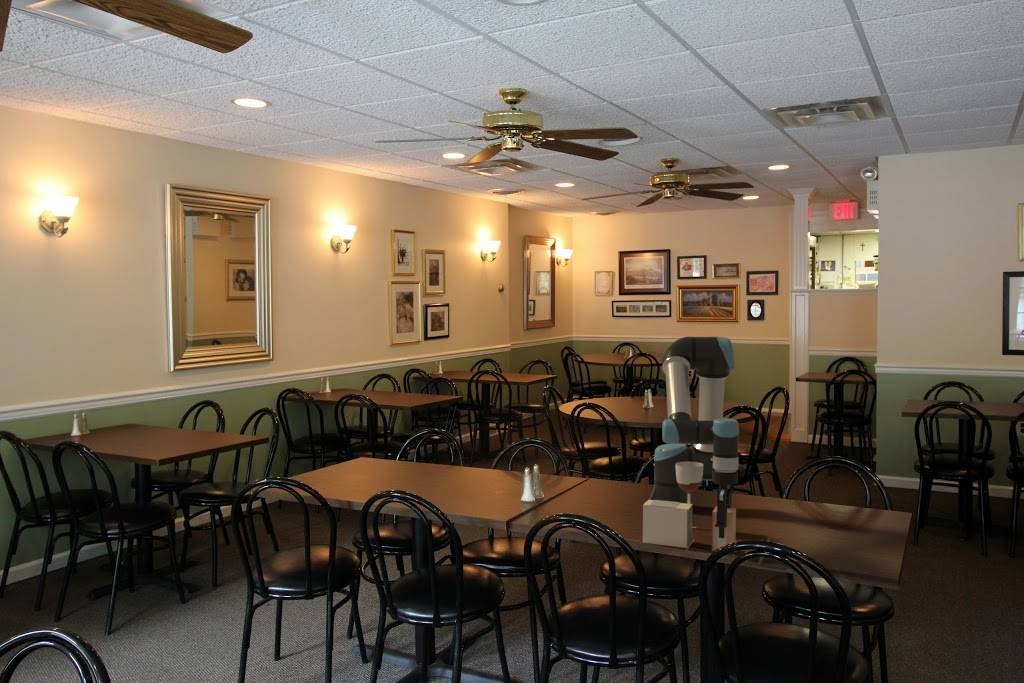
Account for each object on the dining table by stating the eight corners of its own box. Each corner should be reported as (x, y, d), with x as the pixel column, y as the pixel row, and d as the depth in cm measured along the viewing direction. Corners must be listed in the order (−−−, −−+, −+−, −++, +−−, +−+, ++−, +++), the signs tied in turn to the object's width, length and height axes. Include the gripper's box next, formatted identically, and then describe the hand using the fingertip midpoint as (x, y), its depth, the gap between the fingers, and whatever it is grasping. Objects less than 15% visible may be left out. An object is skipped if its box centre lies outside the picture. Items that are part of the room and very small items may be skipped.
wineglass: (669, 529, 267) (670, 464, 266) (685, 524, 274) (686, 460, 273) (691, 535, 261) (692, 468, 260) (707, 529, 268) (708, 464, 267)
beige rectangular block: (647, 536, 257) (648, 499, 257) (691, 541, 252) (692, 503, 251) (642, 542, 251) (643, 504, 250) (687, 548, 245) (688, 509, 245)
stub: (715, 544, 249) (716, 506, 248) (735, 546, 247) (736, 508, 246) (711, 550, 242) (712, 511, 242) (732, 553, 240) (732, 513, 239)
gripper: (717, 462, 254) (716, 534, 255) (706, 475, 236) (705, 552, 237) (742, 464, 251) (740, 537, 252) (733, 477, 233) (731, 555, 234)
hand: (723, 544), depth 244 cm, fingers closed on stub, 7 cm apart
